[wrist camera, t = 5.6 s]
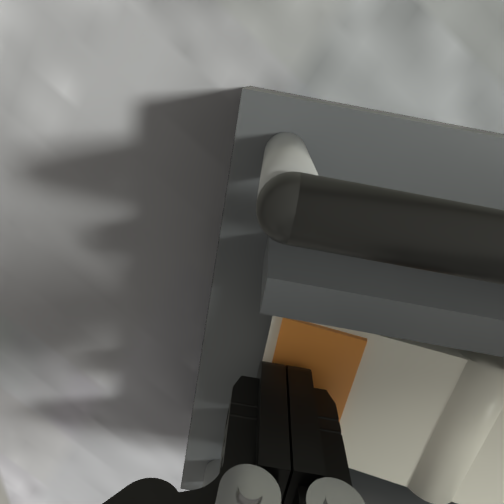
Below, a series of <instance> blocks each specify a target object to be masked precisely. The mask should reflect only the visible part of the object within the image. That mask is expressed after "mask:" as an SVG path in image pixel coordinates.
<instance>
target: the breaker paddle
mask: <svg viewBox="0 0 504 504" xmlns="http://www.w3.org/2000/svg"><path fill="white" fill-rule="evenodd" d="M262 361H265V362H271V363H277V364H283V365H285V366H286V365H289V366H295V367H301V368H307V369H311V372H312V378H313V386H314V388H319V389H325V390H327V392H328V393H329V395H330V396H331V397H332V399H333V400H334V402H335V403H336V407H337V412H338V417H339V422H340V427H341V435H342V437H343V442H344V447H345V452H346V457H347V462H348V467H349V468H351V469H354V470H357V471H360V472H363V473H366V474H369V475H372V476H375V477H378V478H381V479H384V480H387V481H390V482H393V483H396V484H399V485H402V486H405V487H408V488H409V489H410V490H411V491H412V492H413V493H414V494H415V495H417V496H418V497H420V498H421V499H423V500H425V501H427V502H429V503H432V504H448V503H450V502H454V503H457V504H504V357H500V356H494V355H489V354H483V353H477V352H472V351H466V350H461V349H455V348H450V347H444V346H439V345H433V344H427V343H422V342H416V341H411V340H405V339H400V338H394V337H389V336H383V335H377V334H372V333H366V332H361V331H355V330H350V329H344V328H339V327H333V326H327V325H322V324H316V323H311V322H305V321H300V320H294V319H289V318H283V317H277V316H272V321H271V325H270V330H269V334H268V338H267V343H266V347H265V351H264V356H263V360H262Z"/></svg>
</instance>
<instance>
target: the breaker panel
mask: <svg viewBox="0 0 504 504" xmlns="http://www.w3.org/2000/svg"><path fill="white" fill-rule="evenodd" d="M272 316H277V317H283V318H289V319H294V320H300V321H305V322H311V323H316V324H322V325H327V326H333V327H339V328H344V329H350V330H355V331H361V332H366V333H372V334H377V335H383V336H389V337H394V338H400V339H405V340H411V341H416V342H422V343H427V344H433V345H439V346H444V347H450V348H455V349H461V350H466V351H472V352H477V353H483V354H489V355H494V356H500V357H504V134H499V133H494V132H489V131H484V130H478V129H473V128H468V127H463V126H457V125H452V124H447V123H442V122H436V121H431V120H426V119H421V118H415V117H410V116H405V115H400V114H394V113H389V112H384V111H379V110H373V109H368V108H363V107H358V106H352V105H347V104H342V103H337V102H331V101H326V100H321V99H316V98H310V97H305V96H300V95H295V94H289V93H284V92H279V91H274V90H268V89H263V88H258V87H253V86H249V87H245V88H242V93H241V99H240V106H239V112H238V119H237V125H236V132H235V138H234V145H233V151H232V158H231V164H230V171H229V177H228V184H227V190H226V197H225V203H224V210H223V216H222V223H221V229H220V236H219V242H218V249H217V255H216V262H215V268H214V275H213V281H212V288H211V294H210V301H209V307H208V314H207V320H206V327H205V333H204V340H203V346H202V353H201V359H200V366H199V372H198V379H197V385H196V391H195V398H194V404H193V411H192V417H191V424H190V430H189V437H188V443H187V450H186V456H185V463H184V469H183V476H182V482H181V489H186V490H195V489H199V488H202V487H204V486H206V485H208V484H209V483H211V482H212V481H213V480H214V479H215V478H216V477H217V476H218V474H219V468H220V460H221V453H222V445H223V438H224V430H225V423H226V418H227V413H228V408H229V403H230V398H231V393H232V388H233V386H234V385H235V383H236V382H237V381H238V379H239V378H240V377H241V376H247V377H253V378H257V374H258V369H259V365H260V362H261V361H262V360H263V356H264V351H265V347H266V343H267V338H268V334H269V330H270V325H271V321H272ZM349 472H350V477H351V482H352V486H353V488H354V489H355V490H356V491H357V492H358V493H359V494H360V496H361V497H362V498H363V500H364V502H365V504H432V503H429V502H427V501H425V500H423V499H421V498H420V497H418V496H417V495H415V494H414V493H413V492H412V491H411V490H410V489H409V488H408V487H405V486H402V485H399V484H396V483H393V482H390V481H387V480H384V479H381V478H378V477H375V476H372V475H369V474H366V473H363V472H360V471H357V470H354V469H351V468H349ZM448 504H457V503H454V502H450V503H448Z"/></svg>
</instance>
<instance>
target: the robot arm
mask: <svg viewBox="0 0 504 504" xmlns="http://www.w3.org/2000/svg"><path fill="white" fill-rule="evenodd" d="M103 504H365V502H364V500H363V498H362V497H361V496H360V494H359V493H358V492H357V491H356V490H355V489H354V488H353V486H352V482H351V477H350V472H349V467H348V462H347V457H346V452H345V447H344V442H343V437H342V435H341V427H340V422H339V417H338V412H337V407H336V403H335V402H334V400H333V399H332V397H331V396H330V395H329V393H328V392H327V390H325V389H319V388H314V386H313V378H312V372H311V369H307V368H301V367H295V366H289V365H286V366H285V365H283V364H277V363H271V362H265V361H261V362H260V365H259V369H258V374H257V378H253V377H247V376H241V377H240V378H239V379H238V381H237V382H236V383H235V385H234V386H233V388H232V393H231V398H230V403H229V408H228V413H227V418H226V423H225V430H224V438H223V445H222V453H221V460H220V468H219V474H218V476H217V477H216V478H215V479H214V480H213V481H212V482H211V483H209V484H208V485H206V486H204V487H202V488H199V489H195V490H190V491H184V492H178V491H177V490H176V488H175V487H174V486H173V485H171V484H170V483H168V482H167V481H164V480H162V479H158V478H144V479H140V480H137V481H135V482H133V483H131V484H130V485H128V486H127V487H125V488H124V489H122V490H121V491H120V492H118V493H117V494H115V495H114V496H113V497H111V498H110V499H108V500H107V501H106V502H104V503H103Z"/></svg>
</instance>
